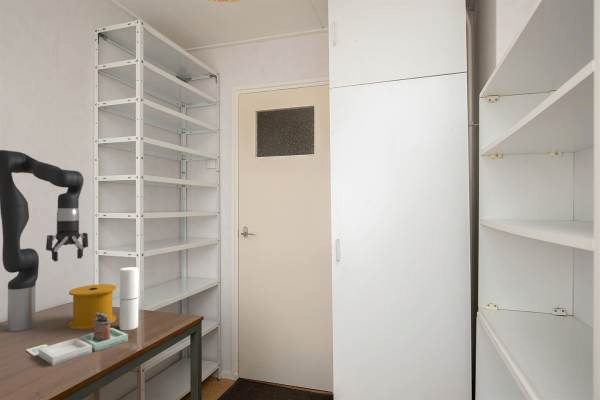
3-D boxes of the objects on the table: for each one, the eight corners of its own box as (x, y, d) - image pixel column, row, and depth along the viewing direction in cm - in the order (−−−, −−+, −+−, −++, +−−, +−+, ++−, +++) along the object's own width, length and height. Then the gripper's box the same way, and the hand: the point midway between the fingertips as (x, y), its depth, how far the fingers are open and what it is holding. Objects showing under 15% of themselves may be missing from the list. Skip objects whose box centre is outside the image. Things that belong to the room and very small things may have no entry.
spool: (90, 314, 165) (90, 283, 165) (124, 316, 162) (125, 284, 162) (58, 328, 147) (58, 292, 147) (96, 330, 144) (96, 294, 144)
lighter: (112, 340, 131) (113, 314, 132) (104, 343, 128) (104, 316, 128) (99, 336, 135) (99, 310, 135) (90, 339, 132) (90, 313, 132)
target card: (25, 350, 125) (25, 349, 125) (45, 344, 129) (45, 343, 129) (34, 356, 120) (34, 355, 120) (54, 350, 125) (54, 349, 125)
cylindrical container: (130, 330, 144) (131, 270, 144) (115, 329, 145) (116, 269, 146) (141, 324, 151) (142, 267, 151) (127, 323, 152) (127, 266, 153)
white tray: (38, 355, 120) (38, 348, 120) (76, 344, 130) (76, 337, 130) (52, 365, 113) (52, 357, 113) (91, 352, 123) (91, 345, 123)
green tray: (79, 343, 131) (79, 337, 131) (112, 333, 141) (112, 327, 141) (94, 351, 124) (94, 344, 124) (127, 340, 134) (127, 334, 134)
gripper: (83, 218, 148) (82, 256, 148) (43, 219, 136) (43, 261, 136) (91, 219, 144) (90, 258, 144) (51, 220, 132) (50, 263, 132)
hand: (67, 259), depth 140 cm, fingers open, 8 cm apart
